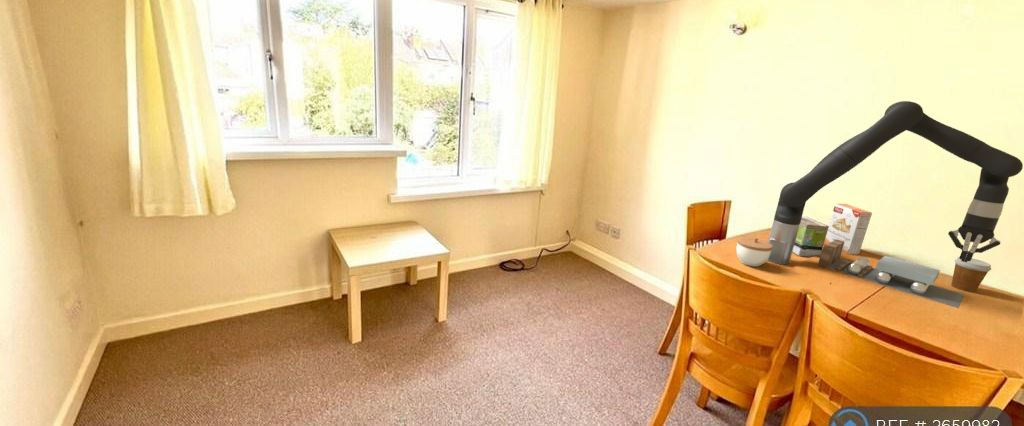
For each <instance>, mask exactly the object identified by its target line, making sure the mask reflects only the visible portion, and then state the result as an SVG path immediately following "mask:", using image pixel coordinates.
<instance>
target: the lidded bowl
mask: <svg viewBox="0 0 1024 426" xmlns="http://www.w3.org/2000/svg"><path fill="white" fill-rule="evenodd" d="M736 242H737V243H736V249H735V250H736V251H735V253H736V255H737V258H738V259H739V261H740V262H741V263H742V265H745V266H749V267H755V268H756V267H760V266H761V265H764V264H765V263H766V262H767V261H768V258H769V256H770V254H771V251H772V248H773V246H772V244H770V243H769V242H768V241H767V240H763V239H759V238H758V237H750V236H749V237H748V236H745V237H744V236H743V237H742V236H741V237H738V238H737V241H736Z"/></svg>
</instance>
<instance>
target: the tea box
mask: <svg viewBox="0 0 1024 426" xmlns="http://www.w3.org/2000/svg"><path fill="white" fill-rule="evenodd" d="M828 228H829V225H828V224H825V223H822V222H820V221H818V220H816V219H813V218H810V217H808V216H803V215H802V219H801V222H800V226H799V229H798V233H797V237H796V240H795V244H794V248H793V251H792V254H793V253H794V254H795V255H797V256H799V257H807V258H808V257H810V258H812V257H814V256H819V257H820V256H821V252H822V249H823V247H824V246H825V245H824V241H825V238H826V234H827V231H828Z"/></svg>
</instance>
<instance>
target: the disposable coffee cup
mask: <svg viewBox="0 0 1024 426" xmlns="http://www.w3.org/2000/svg"><path fill="white" fill-rule="evenodd" d="M959 257H960V256H958V257H957V258H956V259H954V262H955V263H954V264H955V265H954V269H953V274H952V279H951V285H950V286H951V287H953V288H954V289H957V290H960V291H963V292H967V293H968V292H969V293H975V292H976V291H977V290H978V288H979V286H980V285H981V284H982V282H983V280H984V279H985V277H986V276H987V274H988V273H989V272H990V271H991V270H992V265H991V263H989V262H986V261H984V260H980V259H976V258H973V257H972V259H971V261H967V262H963V261H961V259H960V258H959Z"/></svg>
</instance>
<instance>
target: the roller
mask: <svg viewBox="0 0 1024 426" xmlns="http://www.w3.org/2000/svg"><path fill="white" fill-rule="evenodd" d="M870 262H871V261H870V259H869V258H868V257H866V256H860V257H858V258H857V259H856V260H854V261H852V264H850V265H849V266H848V267H847V269H846V270H847V272H848V273H849V274H851V275H856V274H858V273H859V272H860V271H862V270H863V269H864V268H865V267H867V266H868V265H869V266H870ZM851 275H850V276H851Z"/></svg>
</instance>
